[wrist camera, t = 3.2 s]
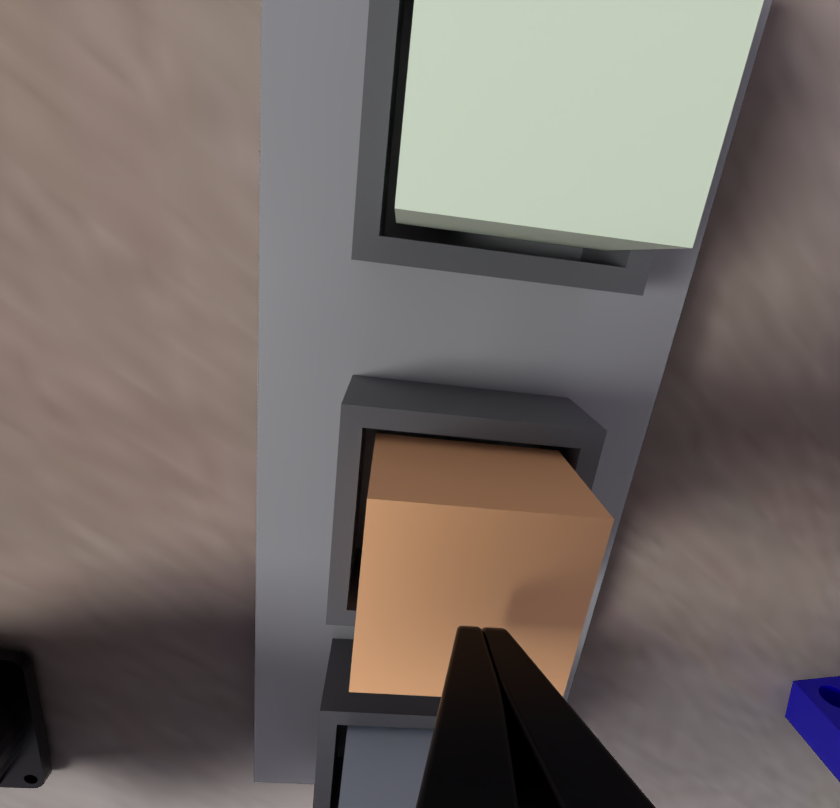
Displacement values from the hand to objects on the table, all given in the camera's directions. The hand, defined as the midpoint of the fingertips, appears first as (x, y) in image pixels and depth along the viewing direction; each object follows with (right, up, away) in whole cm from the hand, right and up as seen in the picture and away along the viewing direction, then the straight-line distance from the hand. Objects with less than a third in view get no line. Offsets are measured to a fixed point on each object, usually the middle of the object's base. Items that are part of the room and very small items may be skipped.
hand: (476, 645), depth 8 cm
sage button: (+1, +10, +1) cm, 10 cm away
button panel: (0, +2, +7) cm, 7 cm away
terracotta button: (0, +1, +4) cm, 4 cm away
